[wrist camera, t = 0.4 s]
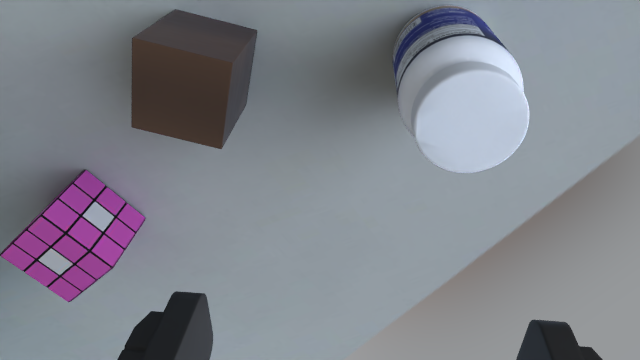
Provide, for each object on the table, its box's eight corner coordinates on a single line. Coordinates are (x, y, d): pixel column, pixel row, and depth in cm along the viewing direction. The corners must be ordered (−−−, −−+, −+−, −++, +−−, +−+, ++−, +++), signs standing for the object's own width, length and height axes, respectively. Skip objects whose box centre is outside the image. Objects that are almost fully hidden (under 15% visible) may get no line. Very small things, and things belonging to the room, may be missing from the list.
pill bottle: (495, 86, 29) (546, 172, 20) (401, 107, 30) (412, 195, 22) (486, -11, 26) (540, 42, 18) (382, 16, 27) (387, 78, 19)
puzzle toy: (147, 217, 37) (113, 268, 32) (105, 251, 39) (68, 303, 34) (85, 168, 35) (40, 214, 30) (46, 206, 37) (-2, 255, 32)
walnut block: (174, 9, 28) (131, 37, 23) (257, 30, 28) (232, 63, 23) (170, 86, 31) (131, 127, 26) (246, 105, 31) (221, 149, 26)
